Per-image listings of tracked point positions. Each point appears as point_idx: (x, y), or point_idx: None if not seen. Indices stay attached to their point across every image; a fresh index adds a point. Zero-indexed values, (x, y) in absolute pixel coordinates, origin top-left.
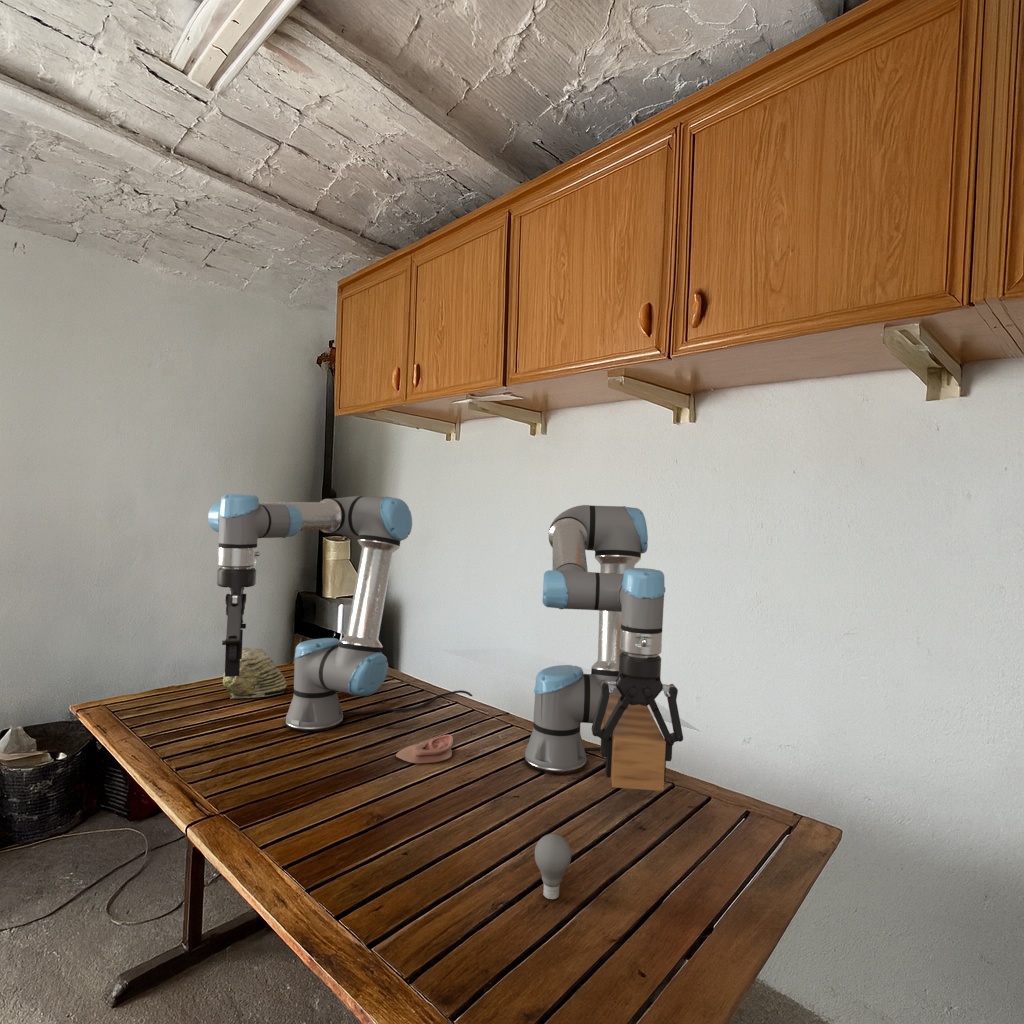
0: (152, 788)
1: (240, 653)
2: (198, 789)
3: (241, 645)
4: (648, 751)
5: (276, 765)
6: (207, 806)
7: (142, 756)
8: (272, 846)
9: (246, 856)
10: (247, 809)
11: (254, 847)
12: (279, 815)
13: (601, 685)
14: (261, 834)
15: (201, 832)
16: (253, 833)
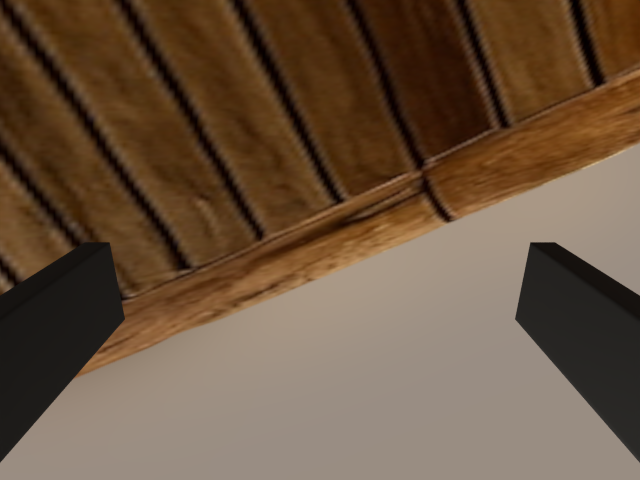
0: (269, 298)
1: (88, 268)
2: (296, 218)
3: (45, 294)
4: None
5: (197, 45)
6: (381, 195)
7: None
8: (605, 60)
9: (616, 112)
10: (424, 115)
11: (590, 97)
12: (479, 42)
13: None
14: (546, 83)
15: (486, 197)
16: (534, 100)
